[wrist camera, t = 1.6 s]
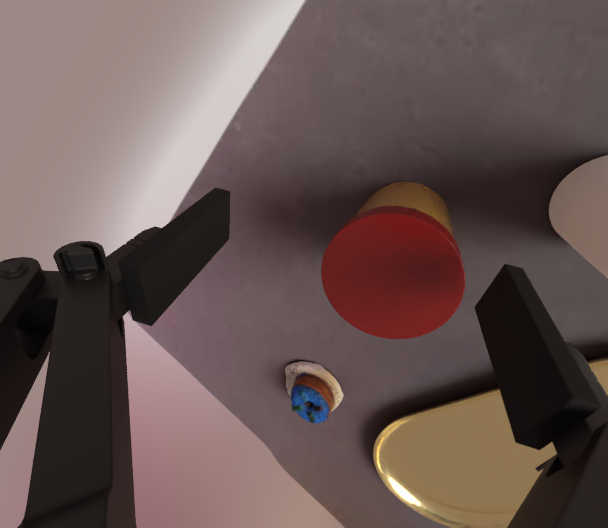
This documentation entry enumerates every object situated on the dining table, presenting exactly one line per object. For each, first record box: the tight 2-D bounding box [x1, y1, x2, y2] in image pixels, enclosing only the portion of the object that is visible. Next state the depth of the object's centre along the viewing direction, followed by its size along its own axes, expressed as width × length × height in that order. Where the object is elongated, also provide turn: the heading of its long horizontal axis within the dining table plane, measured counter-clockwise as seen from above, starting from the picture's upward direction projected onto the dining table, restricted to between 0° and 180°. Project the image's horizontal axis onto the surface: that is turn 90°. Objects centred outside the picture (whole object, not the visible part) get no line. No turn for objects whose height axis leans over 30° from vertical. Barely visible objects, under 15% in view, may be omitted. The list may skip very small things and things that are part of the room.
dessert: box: [285, 361, 343, 423], centre depth 38 cm, size 8×7×6 cm
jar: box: [354, 182, 455, 239], centre depth 22 cm, size 8×8×10 cm
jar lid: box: [321, 206, 465, 339], centre depth 18 cm, size 8×8×2 cm
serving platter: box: [373, 357, 608, 528], centre depth 30 cm, size 19×35×2 cm, turn 133°
